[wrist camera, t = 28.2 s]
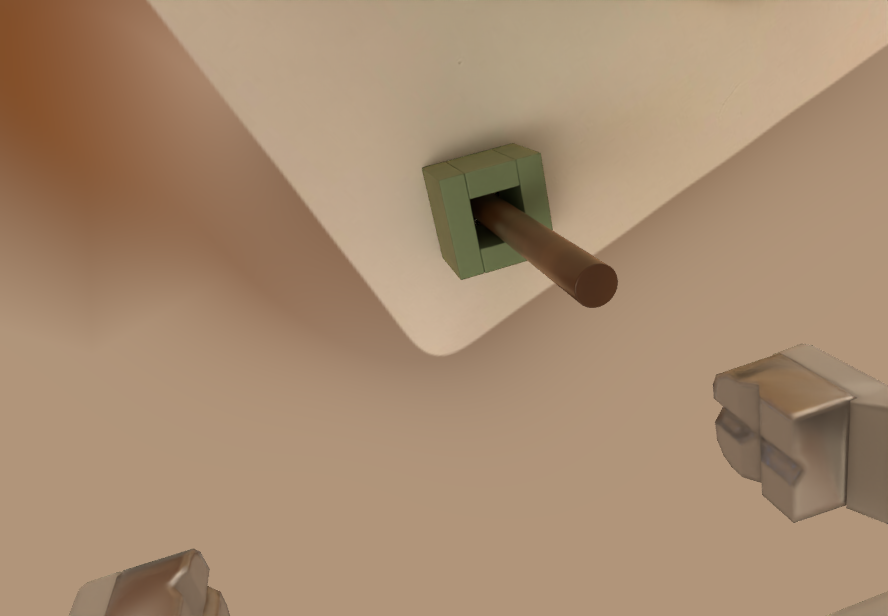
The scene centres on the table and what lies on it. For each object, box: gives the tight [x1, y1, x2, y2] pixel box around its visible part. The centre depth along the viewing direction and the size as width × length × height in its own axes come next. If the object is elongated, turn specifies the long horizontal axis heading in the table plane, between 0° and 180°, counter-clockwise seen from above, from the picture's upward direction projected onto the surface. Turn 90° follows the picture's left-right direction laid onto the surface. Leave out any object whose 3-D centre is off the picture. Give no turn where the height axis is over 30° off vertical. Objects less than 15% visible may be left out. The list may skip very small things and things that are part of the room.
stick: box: [470, 193, 618, 308], centre depth 36 cm, size 2×2×18 cm
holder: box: [422, 143, 553, 280], centre depth 42 cm, size 6×6×5 cm
